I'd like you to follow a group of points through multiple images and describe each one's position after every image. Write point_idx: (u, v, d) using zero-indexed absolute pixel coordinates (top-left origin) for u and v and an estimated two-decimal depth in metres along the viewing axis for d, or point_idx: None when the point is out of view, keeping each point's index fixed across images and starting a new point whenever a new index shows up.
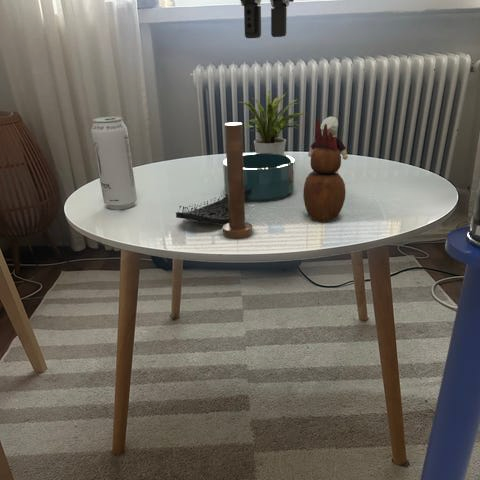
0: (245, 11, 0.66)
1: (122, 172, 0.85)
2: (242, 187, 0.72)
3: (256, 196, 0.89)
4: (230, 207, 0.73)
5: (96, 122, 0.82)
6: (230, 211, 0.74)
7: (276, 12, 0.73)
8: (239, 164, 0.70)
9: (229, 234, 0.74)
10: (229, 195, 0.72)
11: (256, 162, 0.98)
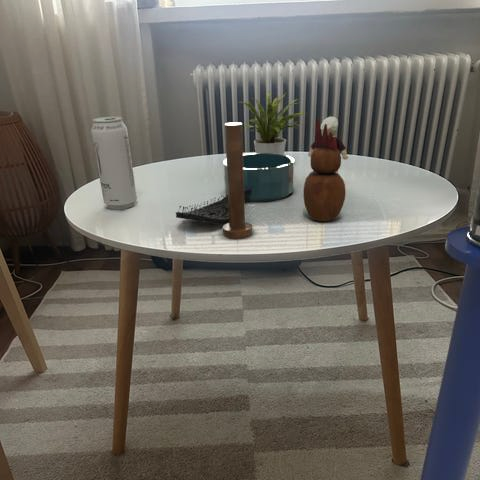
0: None
1: (122, 172, 0.85)
2: (242, 187, 0.72)
3: (256, 196, 0.89)
4: (230, 207, 0.73)
5: (96, 122, 0.82)
6: (230, 211, 0.74)
7: None
8: (239, 164, 0.70)
9: (229, 234, 0.74)
10: (229, 195, 0.72)
11: (256, 162, 0.98)
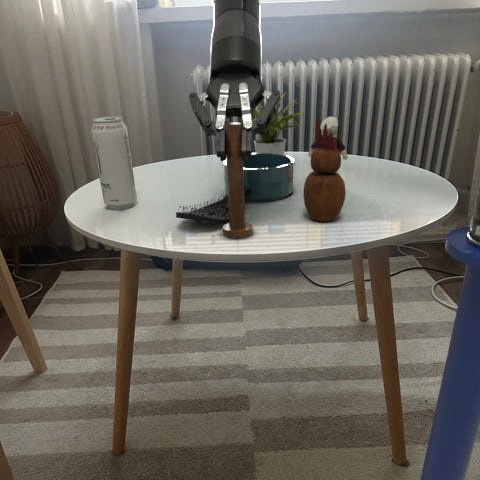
0: None
1: (122, 172, 0.85)
2: (242, 187, 0.72)
3: (256, 196, 0.89)
4: (230, 207, 0.73)
5: (96, 122, 0.82)
6: (230, 211, 0.74)
7: None
8: (239, 164, 0.70)
9: (229, 234, 0.74)
10: (229, 195, 0.72)
11: (256, 162, 0.98)
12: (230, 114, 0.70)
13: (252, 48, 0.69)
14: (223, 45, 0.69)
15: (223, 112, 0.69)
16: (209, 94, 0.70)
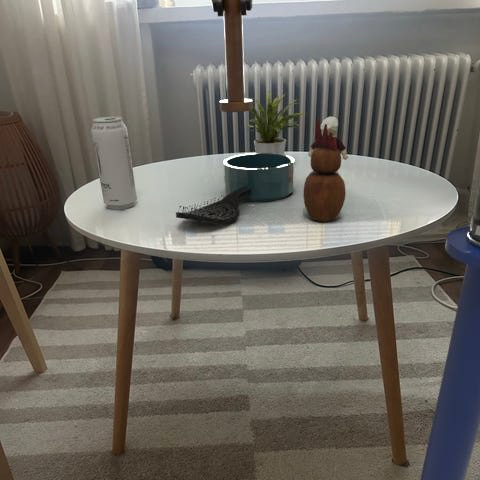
0: None
1: (122, 172, 0.85)
2: (241, 50, 0.65)
3: (256, 196, 0.89)
4: (228, 75, 0.67)
5: (96, 122, 0.82)
6: (228, 80, 0.67)
7: None
8: (238, 21, 0.63)
9: (227, 107, 0.68)
10: (227, 60, 0.66)
11: (256, 162, 0.98)
12: None
13: None
14: None
15: None
16: None
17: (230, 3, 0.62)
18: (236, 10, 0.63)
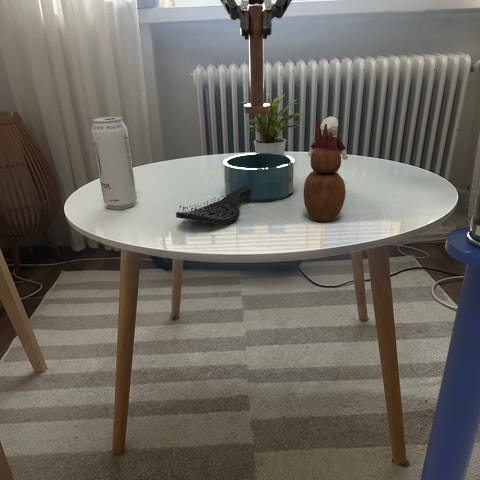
0: None
1: (122, 172, 0.85)
2: (262, 65, 0.83)
3: (256, 196, 0.89)
4: (251, 85, 0.85)
5: (96, 122, 0.82)
6: (251, 89, 0.85)
7: None
8: (260, 43, 0.81)
9: (250, 109, 0.86)
10: (251, 73, 0.84)
11: (256, 162, 0.98)
12: (252, 1, 0.82)
13: None
14: None
15: None
16: None
17: (254, 29, 0.80)
18: (259, 35, 0.81)
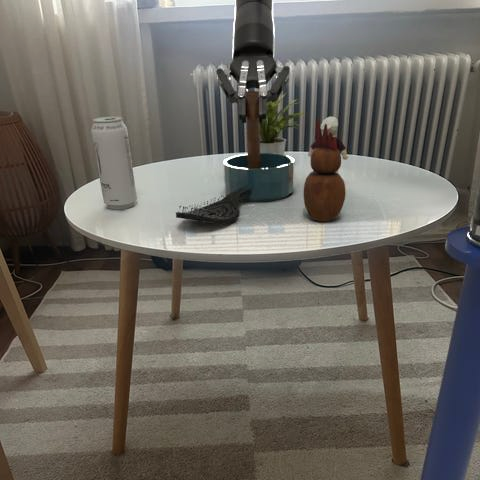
0: None
1: (122, 172, 0.85)
2: (258, 144, 0.90)
3: (256, 196, 0.89)
4: (248, 160, 0.91)
5: (96, 122, 0.82)
6: (248, 164, 0.92)
7: None
8: (256, 125, 0.88)
9: None
10: (248, 151, 0.90)
11: None
12: (249, 86, 0.88)
13: (267, 32, 0.87)
14: (244, 30, 0.86)
15: (244, 83, 0.86)
16: (232, 69, 0.88)
17: (251, 114, 0.86)
18: (255, 118, 0.87)
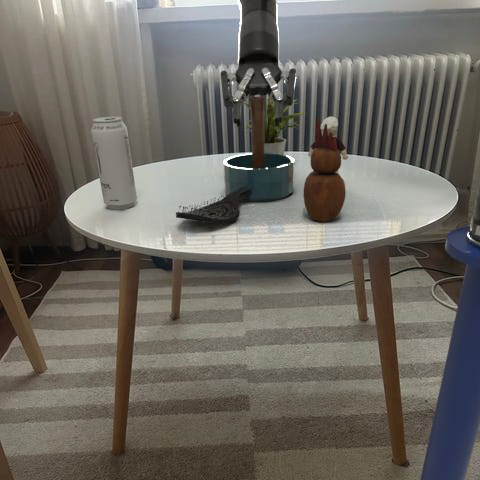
0: None
1: (122, 172, 0.85)
2: (263, 148, 0.92)
3: (256, 196, 0.89)
4: (253, 164, 0.93)
5: (96, 122, 0.82)
6: (253, 167, 0.94)
7: None
8: (261, 130, 0.90)
9: None
10: (253, 154, 0.92)
11: None
12: (254, 92, 0.89)
13: (272, 40, 0.88)
14: (249, 38, 0.88)
15: (242, 89, 0.88)
16: (238, 77, 0.89)
17: (256, 118, 0.88)
18: (260, 123, 0.89)
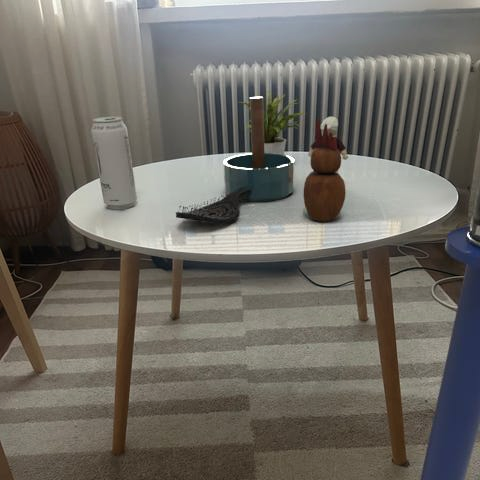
0: None
1: (122, 172, 0.85)
2: (263, 148, 0.92)
3: (256, 196, 0.89)
4: (253, 164, 0.94)
5: (96, 122, 0.82)
6: (253, 167, 0.94)
7: None
8: (260, 129, 0.90)
9: None
10: (253, 154, 0.93)
11: None
12: None
13: None
14: None
15: None
16: None
17: (255, 118, 0.89)
18: (259, 122, 0.90)
